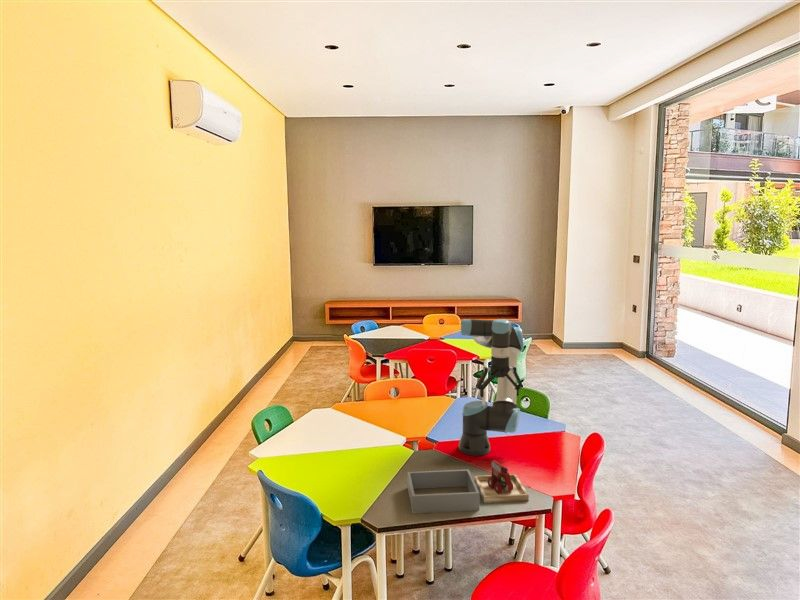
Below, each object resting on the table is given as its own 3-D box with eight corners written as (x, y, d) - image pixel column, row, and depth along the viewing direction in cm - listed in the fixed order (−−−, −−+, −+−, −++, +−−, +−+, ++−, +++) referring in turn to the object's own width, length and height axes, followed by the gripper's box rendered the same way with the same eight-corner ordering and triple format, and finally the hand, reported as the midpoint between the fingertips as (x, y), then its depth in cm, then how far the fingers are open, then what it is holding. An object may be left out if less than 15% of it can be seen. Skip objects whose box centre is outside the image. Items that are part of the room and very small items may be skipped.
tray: (474, 481, 235) (474, 475, 235) (515, 479, 237) (515, 473, 236) (484, 502, 218) (484, 497, 217) (528, 500, 219) (528, 494, 219)
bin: (407, 487, 230) (407, 472, 229) (468, 484, 232) (469, 469, 231) (412, 513, 210) (412, 496, 209) (479, 510, 212) (479, 493, 211)
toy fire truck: (502, 497, 220) (502, 473, 218) (485, 484, 231) (485, 460, 230) (516, 494, 223) (517, 469, 221) (499, 480, 234) (499, 457, 232)
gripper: (473, 359, 230) (472, 407, 234) (531, 357, 232) (530, 405, 236) (469, 354, 238) (469, 401, 241) (526, 353, 240) (524, 399, 243)
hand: (499, 403), depth 238 cm, fingers open, 13 cm apart
